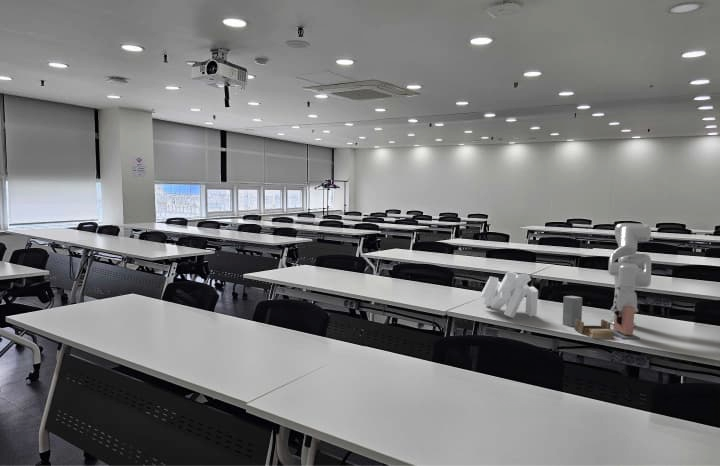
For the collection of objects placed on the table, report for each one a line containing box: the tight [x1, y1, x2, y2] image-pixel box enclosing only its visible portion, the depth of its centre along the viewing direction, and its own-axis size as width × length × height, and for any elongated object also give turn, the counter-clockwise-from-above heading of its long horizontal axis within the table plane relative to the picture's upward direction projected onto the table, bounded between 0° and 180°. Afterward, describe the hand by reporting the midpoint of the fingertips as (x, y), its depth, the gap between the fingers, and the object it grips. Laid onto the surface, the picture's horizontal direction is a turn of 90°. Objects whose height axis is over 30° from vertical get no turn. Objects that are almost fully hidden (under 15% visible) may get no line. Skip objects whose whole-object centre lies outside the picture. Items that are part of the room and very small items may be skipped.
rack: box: [574, 319, 612, 335], centre depth 236 cm, size 7×15×6 cm, turn 91°
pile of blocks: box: [481, 271, 539, 319], centre depth 269 cm, size 35×30×35 cm
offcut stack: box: [587, 329, 614, 339], centre depth 228 cm, size 4×11×4 cm, turn 91°
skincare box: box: [562, 295, 583, 327], centre depth 249 cm, size 8×7×16 cm
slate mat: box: [610, 328, 641, 340], centre depth 232 cm, size 14×9×1 cm, turn 1°
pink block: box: [613, 306, 635, 335], centre depth 231 cm, size 4×10×14 cm, turn 1°
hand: (623, 323), depth 232 cm, fingers closed on pink block, 4 cm apart
